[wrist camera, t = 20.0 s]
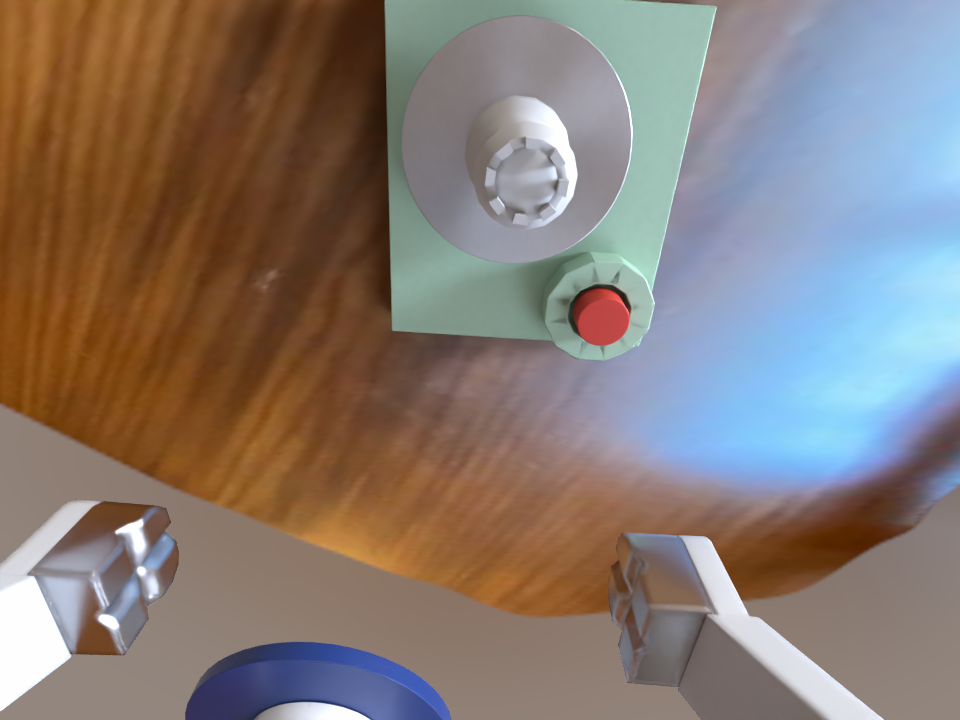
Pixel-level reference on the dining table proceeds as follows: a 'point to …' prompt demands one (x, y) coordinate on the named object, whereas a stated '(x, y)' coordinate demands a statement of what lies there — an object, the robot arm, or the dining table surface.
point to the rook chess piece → (520, 162)
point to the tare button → (601, 316)
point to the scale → (623, 231)
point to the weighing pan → (497, 75)
